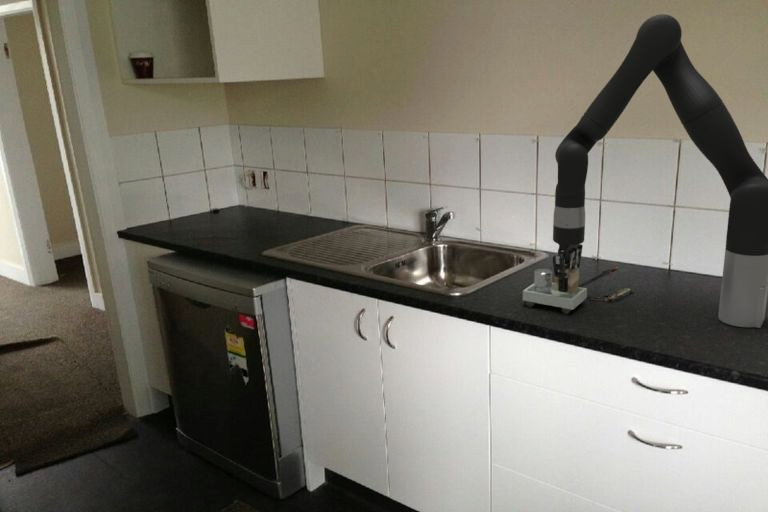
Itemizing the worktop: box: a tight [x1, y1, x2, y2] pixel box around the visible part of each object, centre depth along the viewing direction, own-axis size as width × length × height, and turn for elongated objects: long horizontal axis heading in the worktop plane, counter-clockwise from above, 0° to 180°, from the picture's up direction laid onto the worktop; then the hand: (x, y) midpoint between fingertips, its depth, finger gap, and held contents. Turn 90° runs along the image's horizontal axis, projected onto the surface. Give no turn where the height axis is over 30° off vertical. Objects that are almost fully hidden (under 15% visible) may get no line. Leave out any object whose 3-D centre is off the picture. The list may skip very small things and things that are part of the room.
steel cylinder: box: [533, 268, 553, 295], centre depth 167 cm, size 4×4×6 cm
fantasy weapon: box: [578, 266, 635, 303], centre depth 179 cm, size 29×2×15 cm
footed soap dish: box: [522, 282, 588, 315], centre depth 166 cm, size 13×9×4 cm
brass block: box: [554, 268, 580, 294], centre depth 163 cm, size 4×4×5 cm
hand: (566, 288), depth 163 cm, fingers closed on brass block, 4 cm apart
